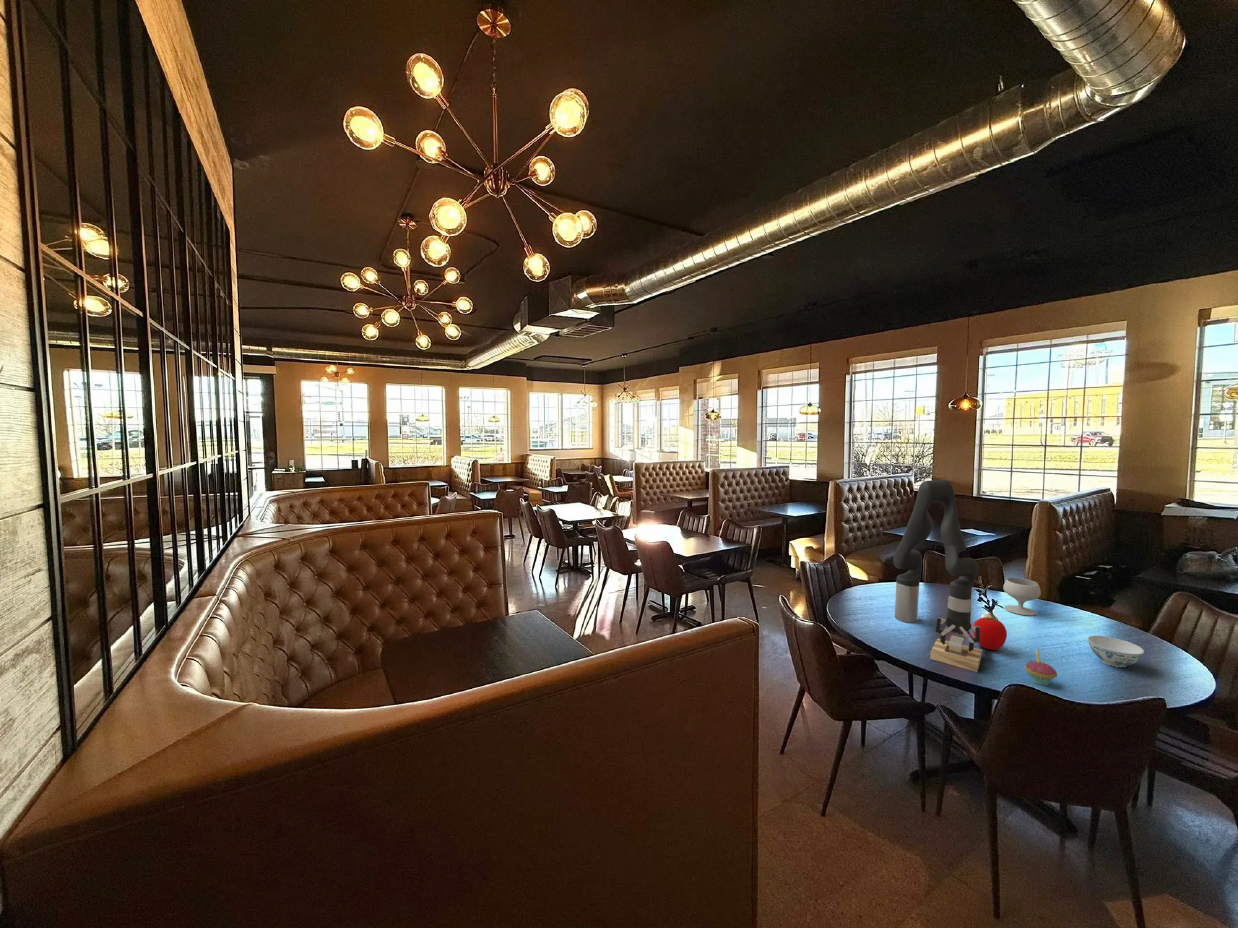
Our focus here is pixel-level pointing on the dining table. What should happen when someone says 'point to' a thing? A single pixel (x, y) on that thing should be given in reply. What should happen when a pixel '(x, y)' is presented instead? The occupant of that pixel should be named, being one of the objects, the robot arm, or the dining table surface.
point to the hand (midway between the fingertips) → (956, 647)
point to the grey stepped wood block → (956, 645)
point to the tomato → (991, 633)
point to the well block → (956, 656)
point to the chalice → (1021, 594)
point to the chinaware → (1115, 650)
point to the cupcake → (1040, 671)
